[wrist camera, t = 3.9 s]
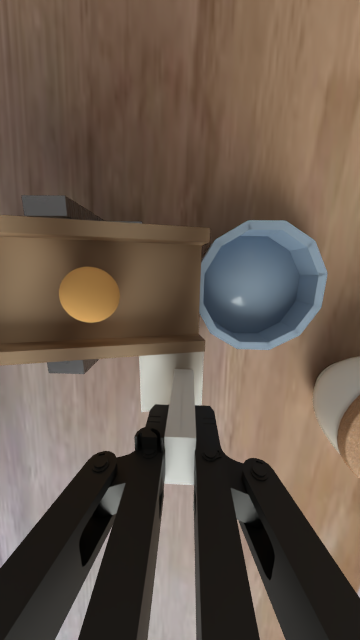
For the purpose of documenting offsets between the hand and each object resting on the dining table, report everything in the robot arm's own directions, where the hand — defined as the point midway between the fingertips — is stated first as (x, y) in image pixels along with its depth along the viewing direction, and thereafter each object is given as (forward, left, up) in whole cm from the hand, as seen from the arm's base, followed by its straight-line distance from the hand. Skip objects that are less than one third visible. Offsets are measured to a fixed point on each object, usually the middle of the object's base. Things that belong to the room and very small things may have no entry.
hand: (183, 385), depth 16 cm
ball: (-5, +7, +2) cm, 9 cm away
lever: (-8, +4, 0) cm, 9 cm away
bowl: (+6, +7, -7) cm, 12 cm away
